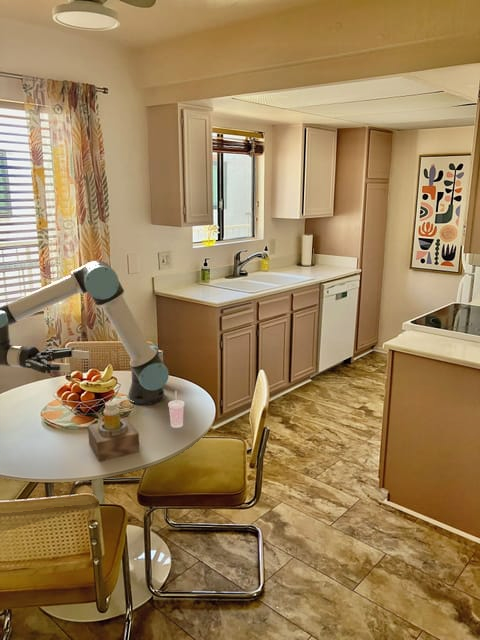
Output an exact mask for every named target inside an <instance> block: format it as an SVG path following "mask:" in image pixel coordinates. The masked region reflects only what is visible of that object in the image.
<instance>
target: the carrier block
mask: <svg viewBox="0 0 480 640" xmlns="http://www.w3.org/2000/svg"><path fill="white" fill-rule="evenodd" d="M87 433H88V434H87V435H88V444H89V446H90V448H91V450H92V451H93V453H94V455H95V457H96V459H97V461H98V462H103V461H106V460H111V459H115V458H119V457H123V456H127V455H132V454H135V453H139V452H140V436H139V435H140V433H139V432H138V430H137V429H136V428H135V426H134V425H133V424H132V422H131V421H130V420H129V418H128V417H127V416H126V417H120V429H115V430H105V428H104V421H101V422H97V423H93V424H88V425H87Z"/></svg>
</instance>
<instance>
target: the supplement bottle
mask: <svg viewBox="0 0 480 640" xmlns="http://www.w3.org/2000/svg"><path fill="white" fill-rule="evenodd" d="M104 406H105V407H104V410H103V422H104V428H105V430H115V429H120V419H121V413H120V412H121V411H120V408H119V407H118V402H117V401H115V400H109V401H106V402H105V403H104Z"/></svg>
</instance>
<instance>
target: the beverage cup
mask: <svg viewBox="0 0 480 640" xmlns="http://www.w3.org/2000/svg"><path fill="white" fill-rule="evenodd" d="M177 396H178V392H177V390H175V400H171V401H169V402H168V403H167V406H168V409H169V410H168V412H169V419H170V420H169V421H170V426H171V428H182V427H183V425H184V411H185V410H184V407H185V402H184V401H183V400H179V399H178V397H177Z"/></svg>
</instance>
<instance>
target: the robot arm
mask: <svg viewBox="0 0 480 640" xmlns="http://www.w3.org/2000/svg"><path fill="white" fill-rule="evenodd" d="M86 293H88V294H89V296H90V297H91V299H92V301H93V302H94V304H95V306H96V307H100V308H102V311H103V312H104V314H105V315H106V317H107V319H108V321H109V322H110V324H111V326H112V327H113V329H114V332H116V334H117V336H118V338H119V339H120V341H121V343H122V345H123V347H124V348H125V351H126V352H127V355H128V356H129V358H130V361H129V365H130V367H131V369H130V370H131V371H130V372H131V383H130V388H129V391H128V397H127V398H128V400H129V399H130V400H132V401H134V403H135V405H140V406H141V405H144V406H145V405H146V406H147V405H153V404H156V403H159V402H162V401H163V400H164V398H165V391H164V386H165V385H166V384H167V383H168V380H169V370H168V367H167V366H166V365H165V364H164V361H163V362H162V360H161V358H160V356H159V350H160V349H159V347H158V346H156V345H150V344H149V343H148V340H147V339H146V337H145V334H144V333H143V331H142V329H141V328H140V326H139V324H138V322H137V321H136V318H135V317H134V315H133V313H132V311H131V309H130V307H129V305H128V304H127V302H126V299H124V293H125V289H124V287H123V286H122V284H121V282H120V281H119V277H118V275H117V273H116V271H115V270H114V269H113V268H112V267H111V266H110V265H109V264H108V263H107V262H104V261H102V260H93V261H89V262H87V263H86V264H84V265H82V266H80V267H78V268H76V269H74V270H72V271H70V274H69V275H68V276H65V277H63V278H61V279H59V280H57V281H54V282H52V283H51V284H48V285H46V286H43V287H41V288H39V289H37V290H35V291H33V292H30V293H28V294H27V295H24V296H22V297H20V298H17V299H15V300H13V301H11V302H8V303H7V304H5V305H3V306H0V367H15V368H17V369H19V368H27V369H32V370H34V371H37V372H39V373H42V374H46V373H47V374H51V373H52V372H61V373H70V372H71V363H64V362H63V363H62V362H54V361H55V360H58V359H65V358H70V357H71V358H72V359H81V360H82V359H83V360H84V359H85V360H86V359H87V360H90V358H91V357H90V356H91V353H90V350H89V351H88V350H79V349H77V350H76V349H75V347H63V348H46V349H45V350H42V351H41V350H40V349H38V348H37V347H35V346H28V345H27V346H25V345H13V344H12V345H11V339H10V328H9V327H10V326H11V325H13V324H16V323H17V322H19V321H22V320H24V319H26V318H29V317H30V316H32V315H35V314H37V313H39V312H42V311H43V310H45V309H48V308H50V307H52V306H54V305H56V304H58V303H61V302H62V301H65V300H67V299H70V298H71V297H73V296H75V295H78V294H82V295H84V294H86ZM134 403H133V404H134Z"/></svg>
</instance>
